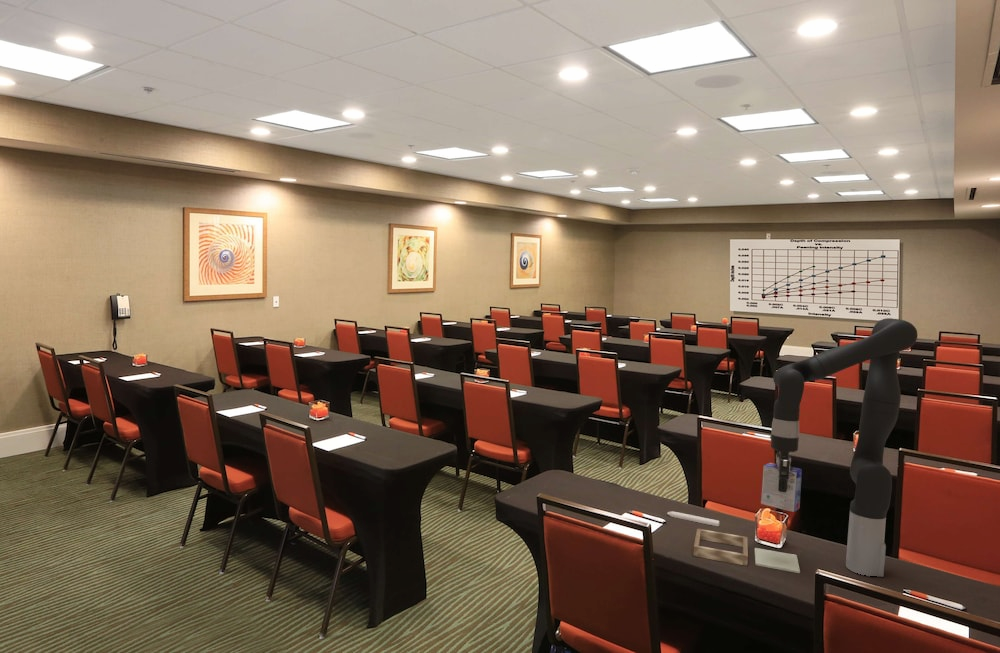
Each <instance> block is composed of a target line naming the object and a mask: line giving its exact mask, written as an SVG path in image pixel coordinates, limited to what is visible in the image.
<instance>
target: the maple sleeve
mask: <svg viewBox="0 0 1000 653" xmlns="http://www.w3.org/2000/svg"><path fill="white" fill-rule="evenodd" d="M701 541H706V542H713V543H720V544H723V545H724V544H725V545H731V546H736V547H740V548H742V553H740V552H736V551H729V550H724V549H720V548H719V549H718V548H712V547H707V546H703V545H702V546H701V545H700V544H701V543H700V542H701ZM748 546H749V545H748V536H744V535H743V536H742V535H737V534H731V533H727V532H726V533H725V532H720V531H713V530H710V529H702V528H697V529H696V534H695V538H694V544H693V553H692V554H693V557H696V558H702V559H708V560H713V561H719V562H723V563H730V564H733V565H734V564H735V565H741V566H745V567H747V566H748V562H749V561H748V558H749V555H748V554H749V550H748Z"/></svg>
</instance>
